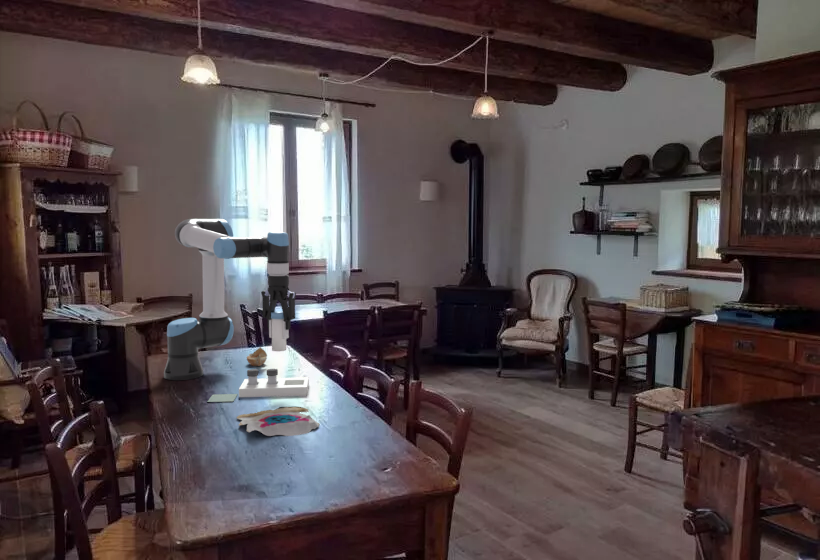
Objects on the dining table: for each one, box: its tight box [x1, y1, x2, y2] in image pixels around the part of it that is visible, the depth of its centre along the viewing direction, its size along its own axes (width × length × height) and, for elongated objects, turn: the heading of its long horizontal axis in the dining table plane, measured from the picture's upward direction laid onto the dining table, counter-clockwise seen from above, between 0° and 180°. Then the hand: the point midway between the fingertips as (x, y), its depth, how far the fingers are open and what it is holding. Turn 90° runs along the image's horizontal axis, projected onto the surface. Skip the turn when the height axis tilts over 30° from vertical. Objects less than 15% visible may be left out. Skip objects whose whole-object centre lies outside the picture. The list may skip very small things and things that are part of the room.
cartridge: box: [271, 310, 287, 352], centre depth 220 cm, size 6×6×14 cm
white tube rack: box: [238, 376, 310, 398], centre depth 223 cm, size 14×24×4 cm, turn 97°
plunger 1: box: [246, 368, 259, 385], centre depth 222 cm, size 4×4×7 cm
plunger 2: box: [266, 368, 279, 385], centre depth 222 cm, size 4×4×7 cm
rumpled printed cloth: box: [236, 406, 320, 437], centre depth 192 cm, size 24×29×3 cm
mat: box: [206, 393, 239, 403], centre depth 216 cm, size 9×9×1 cm
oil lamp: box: [246, 347, 268, 367], centre depth 268 cm, size 9×21×10 cm, turn 24°
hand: (278, 337), depth 221 cm, fingers closed on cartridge, 5 cm apart
